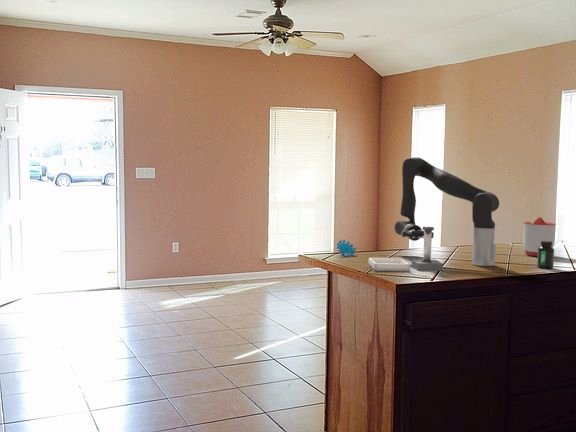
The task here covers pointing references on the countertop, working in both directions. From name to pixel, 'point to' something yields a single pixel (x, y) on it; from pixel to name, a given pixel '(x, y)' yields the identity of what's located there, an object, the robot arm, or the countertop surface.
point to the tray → (388, 264)
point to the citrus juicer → (537, 235)
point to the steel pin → (427, 243)
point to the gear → (346, 248)
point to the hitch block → (427, 265)
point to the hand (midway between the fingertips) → (420, 236)
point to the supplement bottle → (545, 255)
